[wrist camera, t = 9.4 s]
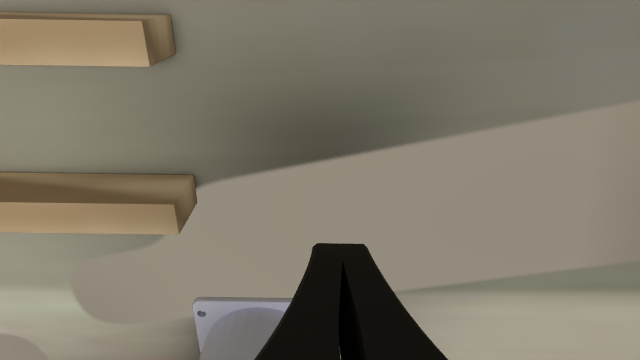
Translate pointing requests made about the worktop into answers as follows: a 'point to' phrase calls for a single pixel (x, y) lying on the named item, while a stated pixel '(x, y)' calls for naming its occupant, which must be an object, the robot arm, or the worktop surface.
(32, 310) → the worktop surface
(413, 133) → the worktop surface
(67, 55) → the beige upright blocks
